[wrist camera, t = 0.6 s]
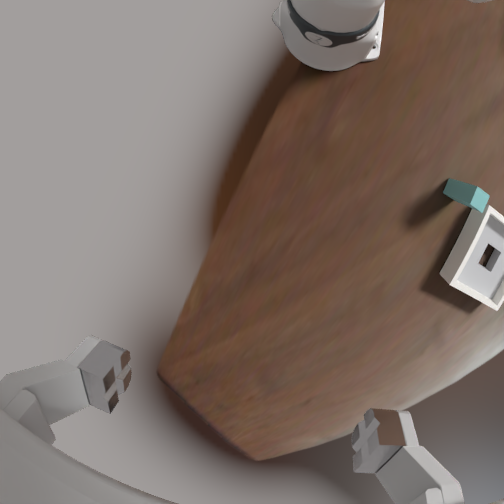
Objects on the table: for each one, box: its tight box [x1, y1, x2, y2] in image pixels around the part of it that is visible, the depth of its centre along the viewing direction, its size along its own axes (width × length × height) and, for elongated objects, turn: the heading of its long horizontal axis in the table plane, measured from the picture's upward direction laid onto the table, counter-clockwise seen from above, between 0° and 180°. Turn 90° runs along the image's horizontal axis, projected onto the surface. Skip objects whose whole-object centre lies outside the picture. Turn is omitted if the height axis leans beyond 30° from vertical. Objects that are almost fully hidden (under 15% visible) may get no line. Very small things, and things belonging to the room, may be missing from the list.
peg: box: [443, 178, 489, 213], centre depth 39 cm, size 3×3×10 cm
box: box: [439, 204, 504, 311], centre depth 44 cm, size 16×16×5 cm
